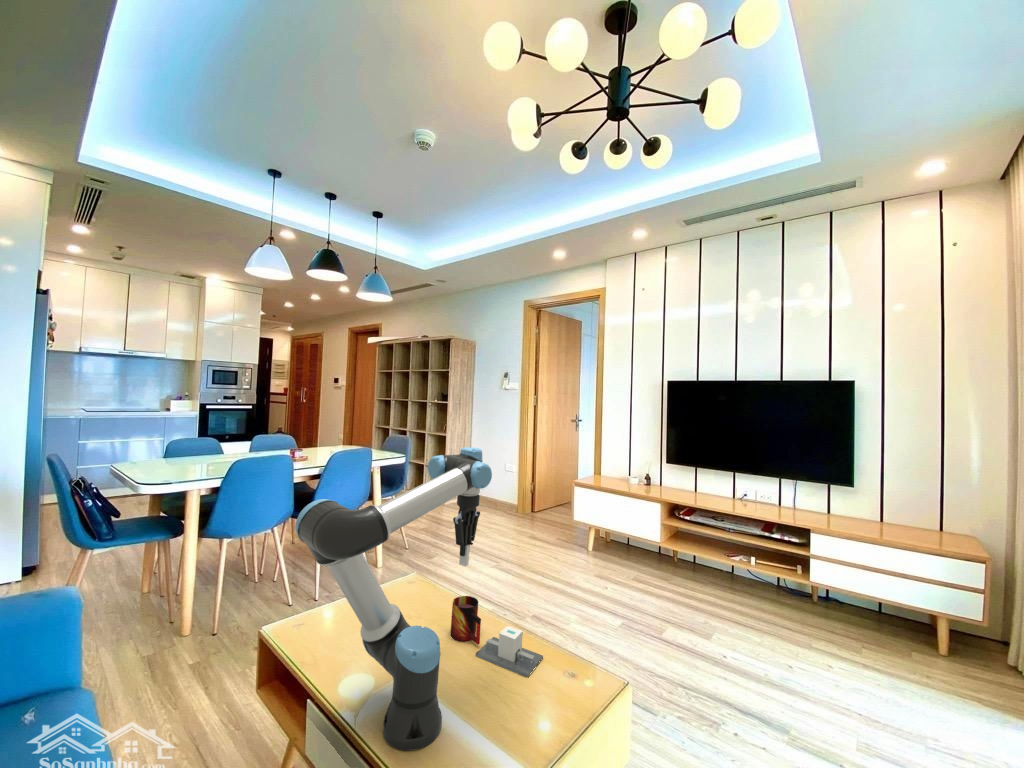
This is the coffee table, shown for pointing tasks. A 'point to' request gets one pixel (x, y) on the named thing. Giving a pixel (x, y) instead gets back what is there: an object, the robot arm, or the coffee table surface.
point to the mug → (465, 620)
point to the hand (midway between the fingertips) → (463, 564)
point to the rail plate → (521, 665)
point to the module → (510, 643)
